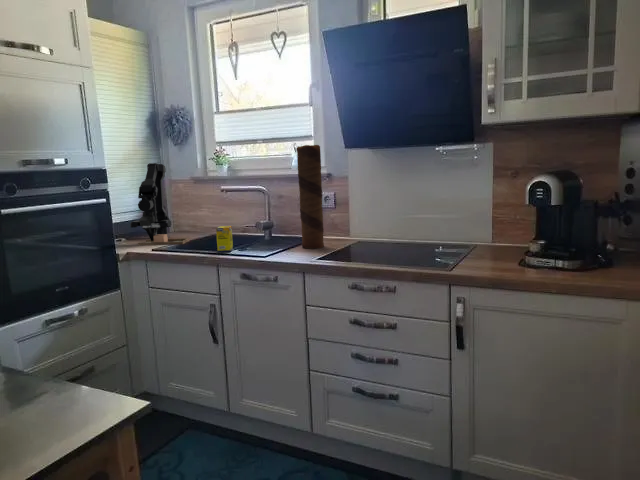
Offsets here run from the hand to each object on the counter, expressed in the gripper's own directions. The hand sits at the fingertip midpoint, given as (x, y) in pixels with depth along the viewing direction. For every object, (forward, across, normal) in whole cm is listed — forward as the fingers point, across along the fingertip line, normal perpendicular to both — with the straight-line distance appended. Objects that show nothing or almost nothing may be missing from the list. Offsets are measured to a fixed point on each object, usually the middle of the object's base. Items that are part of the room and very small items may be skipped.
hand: (152, 241), depth 256 cm
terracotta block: (+1, +4, 0) cm, 4 cm away
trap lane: (+2, +6, 0) cm, 6 cm away
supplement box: (+2, +42, -22) cm, 48 cm away
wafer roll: (+2, +81, -18) cm, 83 cm away
